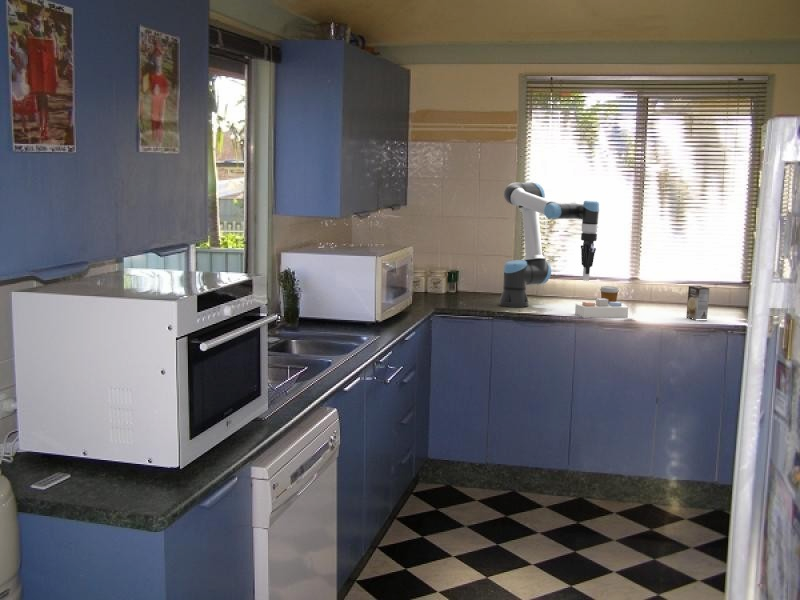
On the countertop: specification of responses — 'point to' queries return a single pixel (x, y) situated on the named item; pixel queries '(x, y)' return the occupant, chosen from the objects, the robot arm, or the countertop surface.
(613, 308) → the keypad base
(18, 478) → the countertop surface
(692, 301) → the coffee box
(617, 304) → the key blue
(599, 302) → the key grey
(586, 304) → the key terracotta
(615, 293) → the disposable coffee cup
